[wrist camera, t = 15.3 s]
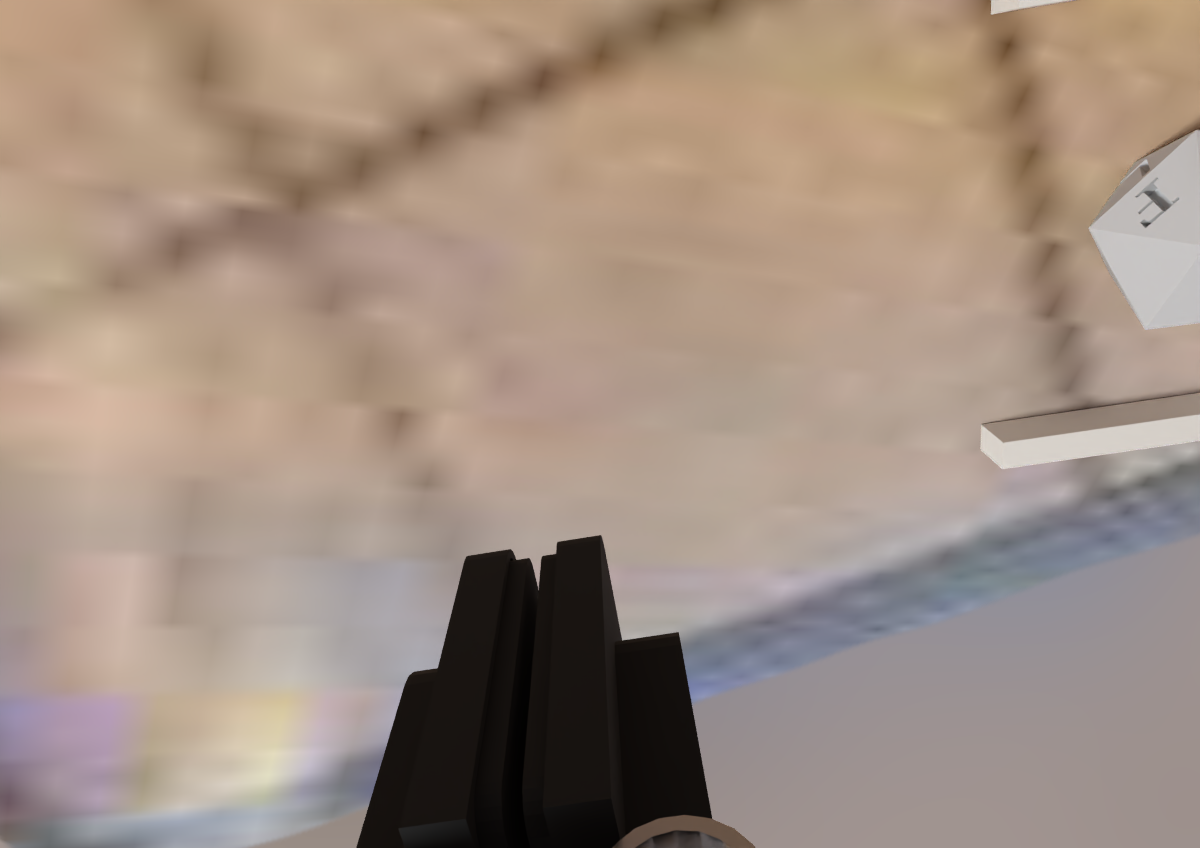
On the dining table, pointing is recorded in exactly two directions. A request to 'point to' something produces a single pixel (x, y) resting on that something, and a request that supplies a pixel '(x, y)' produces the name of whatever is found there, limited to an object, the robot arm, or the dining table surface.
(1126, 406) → the white stand base
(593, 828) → the robot arm
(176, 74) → the dining table surface
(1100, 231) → the die
